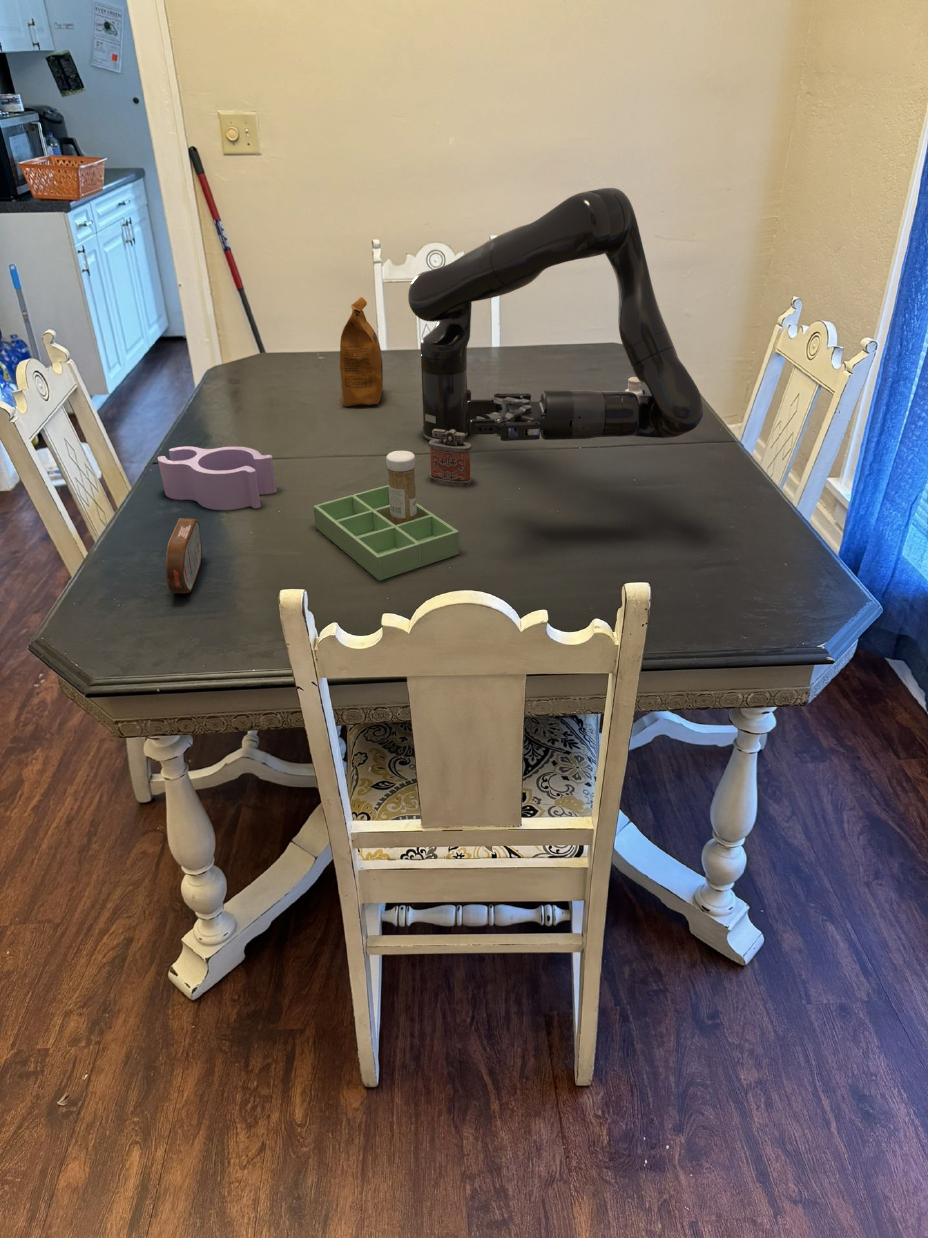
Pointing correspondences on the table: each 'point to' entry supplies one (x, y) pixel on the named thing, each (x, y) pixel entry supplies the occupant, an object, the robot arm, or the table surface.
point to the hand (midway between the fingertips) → (468, 416)
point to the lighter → (450, 458)
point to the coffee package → (360, 360)
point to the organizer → (385, 533)
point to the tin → (183, 556)
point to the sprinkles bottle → (402, 486)
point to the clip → (218, 476)
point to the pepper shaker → (634, 386)
